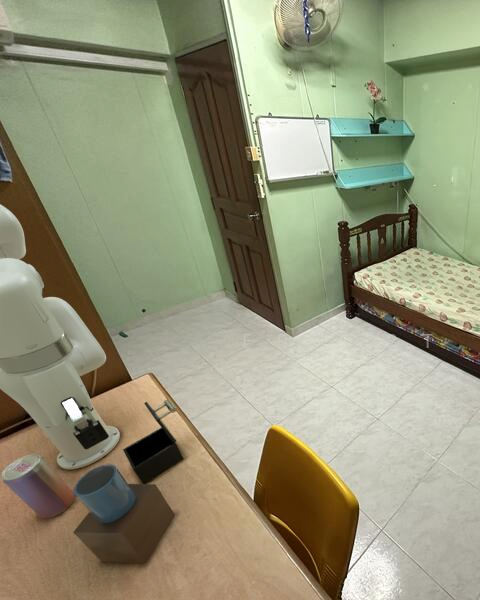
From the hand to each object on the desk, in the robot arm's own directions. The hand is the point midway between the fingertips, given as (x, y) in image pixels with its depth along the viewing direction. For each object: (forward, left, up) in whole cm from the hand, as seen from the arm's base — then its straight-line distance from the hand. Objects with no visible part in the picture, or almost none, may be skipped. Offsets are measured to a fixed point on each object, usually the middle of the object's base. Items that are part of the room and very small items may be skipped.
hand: (89, 427), depth 56 cm
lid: (-10, +13, -18) cm, 25 cm away
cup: (+2, -4, -18) cm, 19 cm away
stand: (+2, -4, -30) cm, 30 cm away
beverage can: (-22, -6, -30) cm, 38 cm away
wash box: (-11, +10, -30) cm, 34 cm away
